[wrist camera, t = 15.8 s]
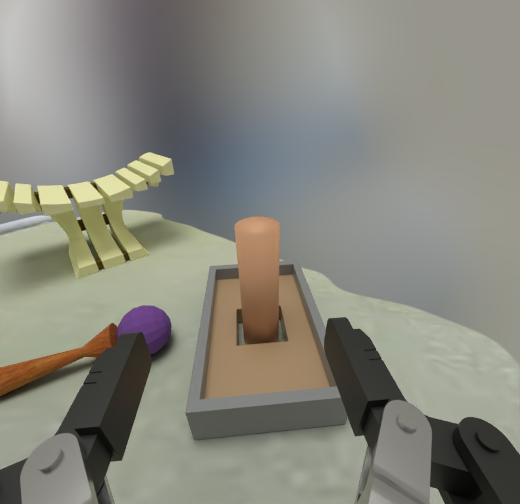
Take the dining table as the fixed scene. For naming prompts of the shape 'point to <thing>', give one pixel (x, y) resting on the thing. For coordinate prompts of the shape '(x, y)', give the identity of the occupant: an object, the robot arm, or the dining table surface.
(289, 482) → the dining table surface
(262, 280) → the peg
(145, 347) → the robot arm
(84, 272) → the slatted curved stool
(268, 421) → the peg box
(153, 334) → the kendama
